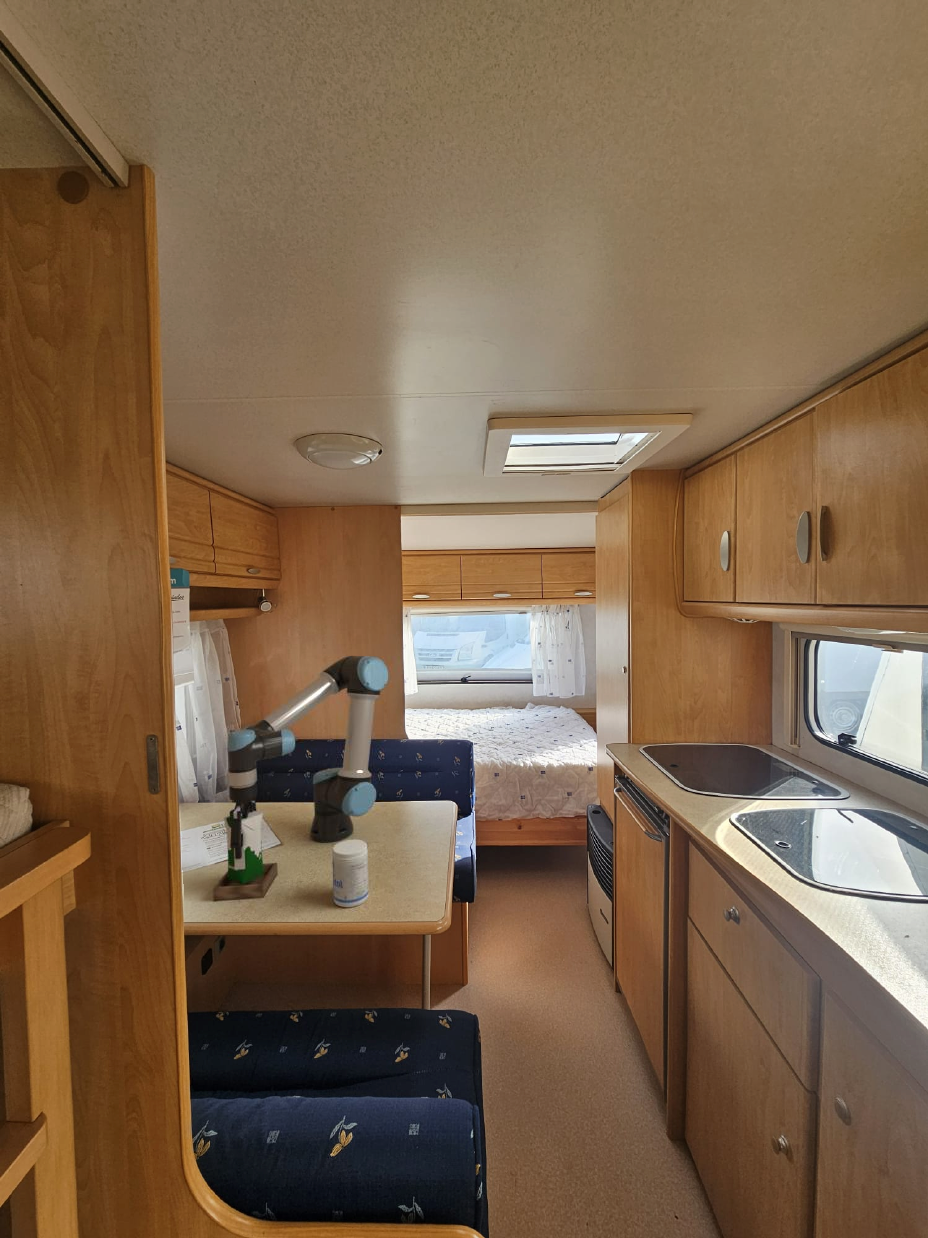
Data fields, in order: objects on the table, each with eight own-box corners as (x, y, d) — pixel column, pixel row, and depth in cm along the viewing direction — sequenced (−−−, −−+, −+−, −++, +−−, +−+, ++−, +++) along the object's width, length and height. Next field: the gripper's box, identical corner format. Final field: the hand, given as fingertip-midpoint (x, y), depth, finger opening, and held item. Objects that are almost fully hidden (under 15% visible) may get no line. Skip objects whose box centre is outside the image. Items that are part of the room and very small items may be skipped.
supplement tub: (326, 901, 143) (324, 848, 143) (354, 886, 150) (352, 836, 150) (348, 913, 137) (346, 857, 137) (376, 897, 144) (374, 844, 144)
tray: (277, 874, 160) (277, 862, 160) (263, 897, 146) (262, 885, 146) (232, 877, 159) (231, 865, 159) (213, 901, 145) (213, 889, 145)
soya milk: (222, 879, 151) (220, 810, 151) (250, 866, 158) (247, 801, 158) (241, 887, 146) (239, 816, 146) (269, 873, 154) (266, 805, 154)
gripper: (243, 774, 163) (245, 846, 163) (214, 797, 142) (217, 880, 142) (267, 772, 163) (270, 844, 163) (242, 795, 142) (246, 878, 142)
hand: (245, 861), depth 153 cm, fingers closed on soya milk, 8 cm apart
